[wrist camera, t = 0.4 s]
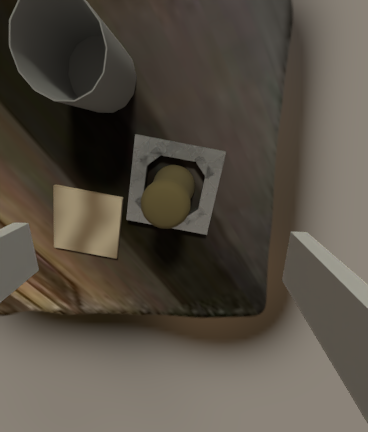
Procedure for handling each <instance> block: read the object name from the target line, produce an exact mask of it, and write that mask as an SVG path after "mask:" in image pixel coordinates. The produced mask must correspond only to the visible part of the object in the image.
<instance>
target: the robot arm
mask: <svg viewBox="0 0 368 432" xmlns="http://www.w3.org/2000/svg"><path fill="white" fill-rule="evenodd" d="M38 270H39V269H38V264H37V259H36V255H35V250H34V246H33V241H32V237H31V232H30V227H29V223H12V224H10V225H8V226H6V227H4V228H2V229H0V302H2V301H3V300H4V299H5V298H6V297H7V296H9V295H10V294H11V293H12V292H13V291H15V290H16V289H17V288H18V287H19V286H21V285H22V284H23V283H24V282H25V281H27V280H28V279H29V278H30V277H31V276H32V275H34V274H35V273H36V272H37V271H38ZM282 281H283V283H284V284H285V286H286V288H287V289H288V291H289V293H290V294H291V296H292V298H293V299H294V301H295V302H296V304H297V306H298V308H299V309H300V311H301V313H302V314H303V316H304V318H305V319H306V321H307V323H308V324H309V326H310V328H311V329H312V331H313V333H314V334H315V336H316V338H317V339H318V341H319V343H320V344H321V346H322V348H323V349H324V351H325V353H326V354H327V356H328V358H329V360H330V361H331V363H332V365H333V366H334V368H335V369H336V371H337V373H338V374H339V376H340V378H341V379H342V381H343V383H344V385H345V386H346V388H347V390H348V391H349V393H350V395H351V396H352V398H353V400H354V401H355V403H356V405H357V406H358V408H359V410H360V411H361V413H362V415H363V416H364V418H365V420H366V421H367V423H368V284H367V283H366V282H364V281H363V280H362V279H361V278H360V277H358V276H357V275H356V274H355V273H354V272H353V271H351V270H350V269H349V268H348V267H347V266H345V265H344V264H343V263H342V262H341V261H340V260H339V259H338V258H336V257H335V256H334V255H333V254H331V252H329V251H328V250H327V249H326V248H325V247H324V246H322V245H321V244H320V243H319V242H318V241H316V240H315V239H314V238H313V237H312V236H311V235H309V234H308V233H307V232H291V233H290V239H289V244H288V250H287V256H286V261H285V268H284V272H283V279H282Z"/></svg>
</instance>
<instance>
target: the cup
mask: <svg viewBox="0 0 368 432" xmlns="http://www.w3.org/2000/svg"><path fill="white" fill-rule="evenodd" d="M9 48H10V50H11V53H12V56H13V58H14V61H15V64H16V67H17V69H18V72H19V73H20V74H21V75H22V76H23V78H24V79H25V80H26V81H27V82H28V83H29V85H30V86H31V87H32V88H33V89H34V91H36V92H38V93H40V94H42V95H44V96H46V97H48V98H50V99H51V100H53V101H56V102H60V103H64V104H68V105H72V106H75V107H79V108H83V109H87V110H91V111H95V112H99V113H114V112H116V111H118V110H119V109H121V108H123V107H125V106H126V105H127V103H128V102H129V100H130V99H131V97H132V96H133V95H134V90H135V84H136V78H137V77H136V73H135V68H134V64H133V60H132V59H131V57H130V56H129V54H128V53H127V52H126V50H125V49H124V47H123V46H122V45H121V43H120V42H119V41H118V40H117V38H116V37H115V36H114V35H113V33H112V32H111V31H110V30H109V28H108V27H107V26H106V25H105V23H104V22H103V21H102V20H101V18H100V17H99V16H98V15H97V13H96V12H95V11H94V10H93V8H92V7H91V6H90V5H89V3H88V2H87V1H86V0H18V1H17V4H16V6H15V8H14V10H13V12H12V15H11V17H10V19H9Z"/></svg>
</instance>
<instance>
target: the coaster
mask: <svg viewBox="0 0 368 432" xmlns="http://www.w3.org/2000/svg"><path fill="white" fill-rule="evenodd" d="M123 198H124V197H119V196H114V195H108V194H103V193H98V192H92V191H87V190H82V189H76V188H71V187H66V186H61V185H54V247H56V248H61V249H67V250H72V251H78V252H83V253H88V254H94V255H99V256H105V257H110V258H115V259H117V257H118V249H119V239H120V229H121V218H122V208H123Z"/></svg>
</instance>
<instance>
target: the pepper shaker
mask: <svg viewBox="0 0 368 432" xmlns="http://www.w3.org/2000/svg"><path fill="white" fill-rule="evenodd" d="M194 191H195V182H194V179H193V176H192V175H191V173H190V172H189V171H188V170H187V169H185V168H184V167H181V166H178V165H169V166H166V167H163V168H162V169H161V170H159V171H158V173H157V174H156V175H155V178H154V181H153V183H151V184H150V185H149V186H148V187H147V188H146V189H145V191H144V192H143V194H142V198H141V210H142V213H143V215H144V217H145V218H146V220H147V221H148V222H149V223H151V224H152V225H154V226H155V227H158V228H162V229H170V228H173V227H176V226H178V225H179V224H181V223H182V222H184V220H185V219H186V218H187V216H188V214H189V211H190V199H191V198H192V196H193V194H194Z"/></svg>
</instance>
